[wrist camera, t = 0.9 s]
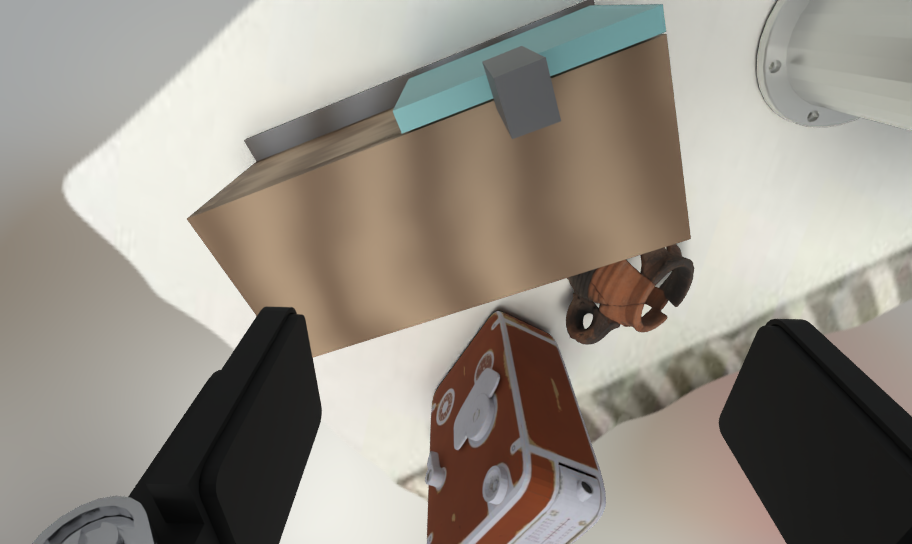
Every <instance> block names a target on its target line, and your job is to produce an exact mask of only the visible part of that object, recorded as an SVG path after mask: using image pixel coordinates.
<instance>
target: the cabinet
mask: <svg viewBox="0 0 912 544" xmlns="http://www.w3.org/2000/svg"><path fill="white" fill-rule="evenodd" d="M590 5H594V0H587V1H585V2H582V3H580V4H577V5H575V6H572V7H570V8H567V9H565V10H562V11H560V12H558V13H555V14H553V15H550V16H548V17H545V18H543V19H540V20H538V21H535V22H533V23H530V24H528V25H526V26H523V27H521V28H518V29H516V30H513V31H511V32H508V33H506V34H503V35H501V36H499V37H496V38H494V39H491V40H489V41H486V42H484V43H481V44H479V45H476V46H474V47H471V48H469V49H467V50H464V51H462V52H459V53H457V54H454V55H452V56H449V57H447V58H444V59H442V60H440V61H437V62H435V63H432V64H430V65H427V66H425V67H422V68H420V69H417V70H415V71H413V72H410V73H408V74H405V75H403V76H400V77H398V78H395V79H393V80H390V81H388V82H385V83H383V84H381V85H378V86H376V87H373V88H371V89H368V90H366V91H363V92H361V93H358V94H356V95H354V96H351V97H349V98H346V99H344V100H341V101H339V102H336V103H334V104H331V105H329V106H326V107H324V108H322V109H319V110H317V111H314V112H312V113H309V114H307V115H304V116H302V117H299V118H297V119H295V120H292V121H290V122H287V123H285V124H282V125H280V126H277V127H275V128H272V129H270V130H268V131H265V132H263V133H260V134H258V135H255V136H253V137H250V138H248V139H246V140H244V141H245V143H246V145H247V146H248V148H249V150H250V151H251V153H252V155H253V156H254V158H255V160H256V161H257V162H256V163H254V164H253V165H252V166H251V167H249V168H248V169H247V170H246V171H245V172H243V173H242V174H241V175H240V176H238V177H237V178H236V179H235V180H234V181H232V182H231V183H230V184H229V185H227V186H226V187H225V188H224V189H223V190H221V191H220V192H219V193H218V194H216V195H215V196H214V197H213V198H212V199H210V200H209V201H208V202H207V203H205V204H204V205H203V206H202V207H200V208H199V209H198V210H197V211H196V212H194V213H193V214H192V215H191V216H189V217H188V218H187V220H188V221H189V223H190V224H191V226H192V227H193V228H194V230H195V231H196V232H197V234H198V235H199V237H200V238H201V239H202V241H203V242H204V244H205V245H206V246H207V248H208V249H209V251H210V252H211V253H212V255H213V256H214V257H215V259H216V260H217V262H218V263H219V264H220V266H221V267H222V269H223V270H224V271H225V273H226V274H227V275H228V277H229V278H230V280H231V281H232V282H233V284H234V285H235V287H236V288H237V289H238V291H239V292H240V293H241V295H242V296H243V298H244V299H245V300H246V302H247V303H248V305H249V306H250V307H251V309H252V310H253V311H254V313H255V314H256V316H257V315H258V314H259V312H260V311H261V310H262V308H263V307H266V306H267V307H293V308H295V310H296V312H297V314H302V315H304V317H305V320H306V325H307V330H308V336H309V341H310V347H311V352H312V358H313V357H316V356H319V355H322V354H326V353H329V352H332V351H335V350H338V349H342V348H345V347H348V346H351V345H354V344H358V343H361V342H364V341H367V340H370V339H373V338H377V337H380V336H383V335H386V334H389V333H393V332H396V331H399V330H402V329H405V328H408V327H412V326H415V325H418V324H421V323H424V322H428V321H431V320H434V319H437V318H440V317H444V316H447V315H450V314H453V313H456V312H459V311H463V310H466V309H469V308H472V307H475V306H479V305H482V304H485V303H488V302H491V301H495V300H498V299H501V298H504V297H507V296H510V295H514V294H517V293H520V292H523V291H526V290H530V289H533V288H536V287H539V286H542V285H546V284H549V283H552V282H555V281H558V280H561V279H565V278H568V277H571V276H574V275H577V274H581V273H584V272H587V271H590V270H593V269H596V268H600V267H603V266H606V265H609V264H612V263H616V262H619V261H622V260H625V259H628V258H632V257H635V256H638V255H641V254H644V253H647V252H651V251H654V250H657V249H660V248H663V247H667V246H670V245H673V244H676V243H679V242H683V241H686V240H689V239H691V236H690V228H689V219H688V211H687V203H686V194H685V186H684V177H683V169H682V160H681V152H680V144H679V135H678V127H677V118H676V110H675V102H674V93H673V85H672V76H671V68H670V59H669V51H668V43H667V34H659V35H656V36H654V37H651V38H649V39H646V40H644V41H641V42H638V43H636V44H633V45H631V46H628V47H625V48H623V49H620V50H618V51H615V52H612V53H610V54H607V55H605V56H602V57H599V58H597V59H594V60H592V61H589V62H586V63H584V64H581V65H579V66H576V67H574V68H571V69H568V70H566V71H563V72H561V73H558V74H555V75H553V76H550V77H551V81H552V85H553V89H554V93H555V97H556V101H557V106H558V110H559V114H560V118H561V121H560V122H558V123H555V124H552V125H550V126H547V127H544V128H542V129H539V130H536V131H533V132H531V133H528V134H525V135H523V136H520V137H517V138H514V139H512V138H511V136H510V134H509V132H508V130H507V128H506V127H505V125H504V123H503V121H502V119H501V117H500V115H499V113H498V111H497V108H496V105H495V102H494V99H491V100H488V101H485V102H483V103H480V104H478V105H475V106H472V107H470V108H467V109H465V110H462V111H459V112H457V113H454V114H452V115H449V116H446V117H444V118H441V119H439V120H436V121H433V122H431V123H428V124H426V125H423V126H421V127H418V128H415V129H413V130H410V131H408V132H405V133H401V130H400V128H399V125H398V123H397V121H396V118H395V116H394V114H393V109H394V107H395V105H396V103H397V101H398V99H399V97H400V95H401V93H402V91H403V89H404V87H405V85H406V83H407V81H408V79H410V78H412V77H415V76H417V75H419V74H422V73H424V72H427V71H429V70H432V69H434V68H437V67H439V66H442V65H444V64H447V63H449V62H452V61H454V60H457V59H459V58H461V57H464V56H466V55H469V54H471V53H474V52H476V51H479V50H481V49H484V48H486V47H489V46H491V45H494V44H496V43H499V42H501V41H503V40H506V39H508V38H511V37H513V36H516V35H518V34H521V33H523V32H526V31H528V30H531V29H533V28H536V27H538V26H541V25H543V24H545V23H548V22H550V21H553V20H555V19H558V18H560V17H563V16H565V15H568V14H570V13H573V12H575V11H578V10H580V9H583V8H585V7H587V6H590Z"/></svg>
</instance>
